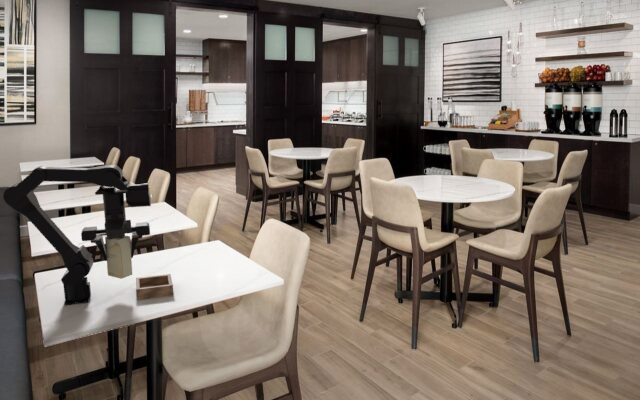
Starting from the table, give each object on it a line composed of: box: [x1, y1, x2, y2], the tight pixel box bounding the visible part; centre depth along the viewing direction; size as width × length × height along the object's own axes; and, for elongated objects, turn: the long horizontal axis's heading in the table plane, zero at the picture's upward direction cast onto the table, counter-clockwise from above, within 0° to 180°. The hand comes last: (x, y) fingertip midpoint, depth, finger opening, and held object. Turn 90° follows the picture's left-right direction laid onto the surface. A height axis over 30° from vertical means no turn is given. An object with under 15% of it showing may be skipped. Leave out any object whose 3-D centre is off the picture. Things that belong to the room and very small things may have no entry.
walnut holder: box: [135, 273, 174, 301], centre depth 163 cm, size 11×11×3 cm
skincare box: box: [104, 235, 133, 280], centre depth 158 cm, size 6×4×12 cm
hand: (119, 259), depth 158 cm, fingers closed on skincare box, 7 cm apart
